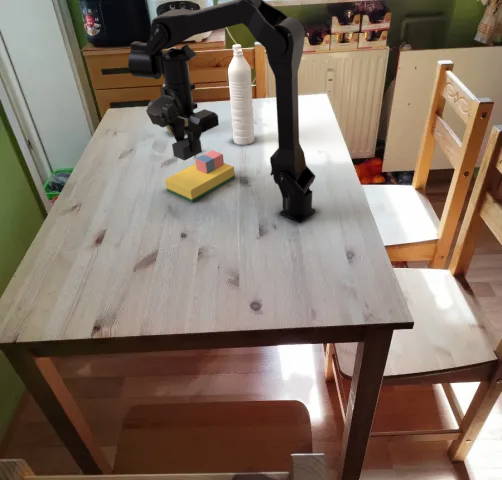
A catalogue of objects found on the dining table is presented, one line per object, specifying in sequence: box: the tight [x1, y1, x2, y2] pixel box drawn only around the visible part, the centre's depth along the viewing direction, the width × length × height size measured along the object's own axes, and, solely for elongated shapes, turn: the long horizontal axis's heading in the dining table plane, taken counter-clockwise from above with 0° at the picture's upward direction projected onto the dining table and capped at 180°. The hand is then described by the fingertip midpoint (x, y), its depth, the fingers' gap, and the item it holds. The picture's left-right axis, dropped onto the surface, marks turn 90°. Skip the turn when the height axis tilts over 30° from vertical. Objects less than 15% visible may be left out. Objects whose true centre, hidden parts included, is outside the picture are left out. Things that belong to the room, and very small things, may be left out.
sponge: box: [164, 162, 236, 203], centre depth 125 cm, size 16×10×3 cm, turn 138°
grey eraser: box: [171, 136, 203, 162], centre depth 113 cm, size 6×4×3 cm
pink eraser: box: [194, 149, 225, 174], centre depth 124 cm, size 6×4×3 cm, turn 138°
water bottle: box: [227, 43, 255, 146], centre depth 135 cm, size 9×6×25 cm
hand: (187, 150), depth 113 cm, fingers closed on grey eraser, 4 cm apart
